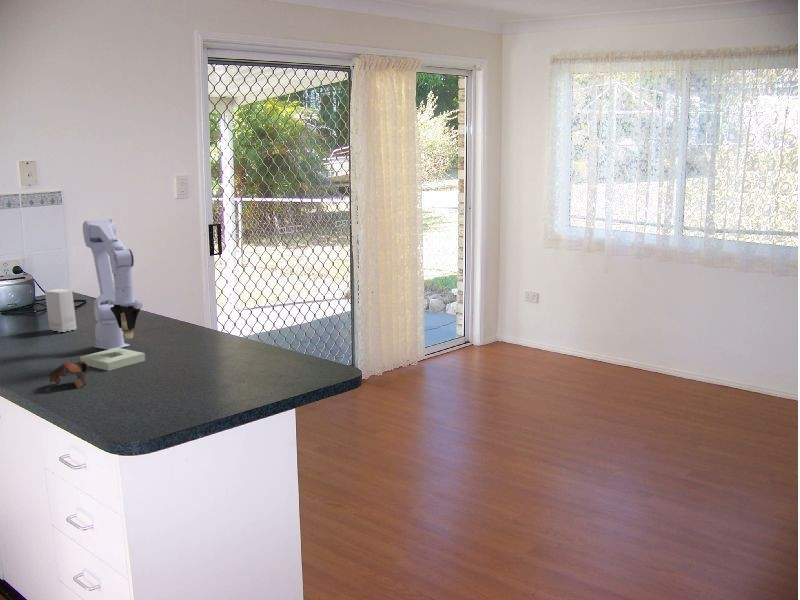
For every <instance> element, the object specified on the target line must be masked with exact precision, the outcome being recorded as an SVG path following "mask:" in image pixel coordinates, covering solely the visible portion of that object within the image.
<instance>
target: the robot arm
mask: <svg viewBox="0 0 800 600" xmlns="http://www.w3.org/2000/svg"><path fill="white" fill-rule="evenodd" d="M116 233H117V227H116V223H115V221H114V220H113V219H112V218H111V219H100V220H98V219H97V220H84V222H83V223H82V234H83V241H84V243H85V247H87V248H89V249H90V250H91V253H92V256H93V261H94V266H95V271H96V277H97V282H98V287H99V293H100V295H99V296H98V297H96V298H95V300H94V301H93V309H94V310H93V313H94V318H95V320H96V321H97V323H96V324H95V326H94V327H95V328H94V333H95V334H94V335H95V345H94V346H93V347H94V348H98V349H102V350H109V349H113V348H122V349H124V348H126V347H130V346H131V345H130V344H129V343H125V338H123V331H122V327H121V313H124V314H125V317H126V321H127V327H128V329H129V330H130V329H134V330H135V328H136V324H137V323H136V322H137V318H138V316H139V313H140V311H141V309H143V307H144V306H143V301H138V300H137V299H135V295H134V281H133V279H134V278H133V267H134V265H135V258H134V252H133V251H132V249H131V248H126V247H125V245H124V243H123V242H122V241H121V239H119V238H118V237H116ZM112 274H113V275H112Z"/></svg>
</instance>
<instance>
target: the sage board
mask: <svg viewBox="0 0 800 600" xmlns="http://www.w3.org/2000/svg"><path fill="white" fill-rule="evenodd" d="M79 359H80V361H84V362H85V363H86V364H87V365H88V367H90V366H91V368H95V369H99V370H104V371H113V370H116V369H120V368H124V367H127V366H131V365H134V364H138V363H142V362H145V361H146V353H145V352H140V351H136V350H131V349H127V348H113V349H109V350H106V349H104V350H103V351H98V352H94V353H89V354H86V355H81V356H79Z"/></svg>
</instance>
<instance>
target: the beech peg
mask: <svg viewBox="0 0 800 600" xmlns="http://www.w3.org/2000/svg"><path fill="white" fill-rule="evenodd" d="M121 327H122V331H123V338H124V340H126V339H127V340H129V339H133V338H134V331H135V328H134V329H130V330H129V329H128V327H127V321H126V317H125V314H124V313H121Z"/></svg>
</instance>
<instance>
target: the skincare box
mask: <svg viewBox="0 0 800 600" xmlns="http://www.w3.org/2000/svg"><path fill="white" fill-rule="evenodd" d="M44 295H45V304H46V312H47V319H48V326H49V331H50V330H53V331H58V332H57V333H60V332H66V331H70V332H72V331H71V330H74V331H77V330H78V329H77V320H76V319H77V318H76V312H75V303H74V295H73V289H67V288H55V289H49V290H44ZM76 329H77V330H76ZM53 331H52V332H53ZM66 333H67V332H66Z"/></svg>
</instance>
